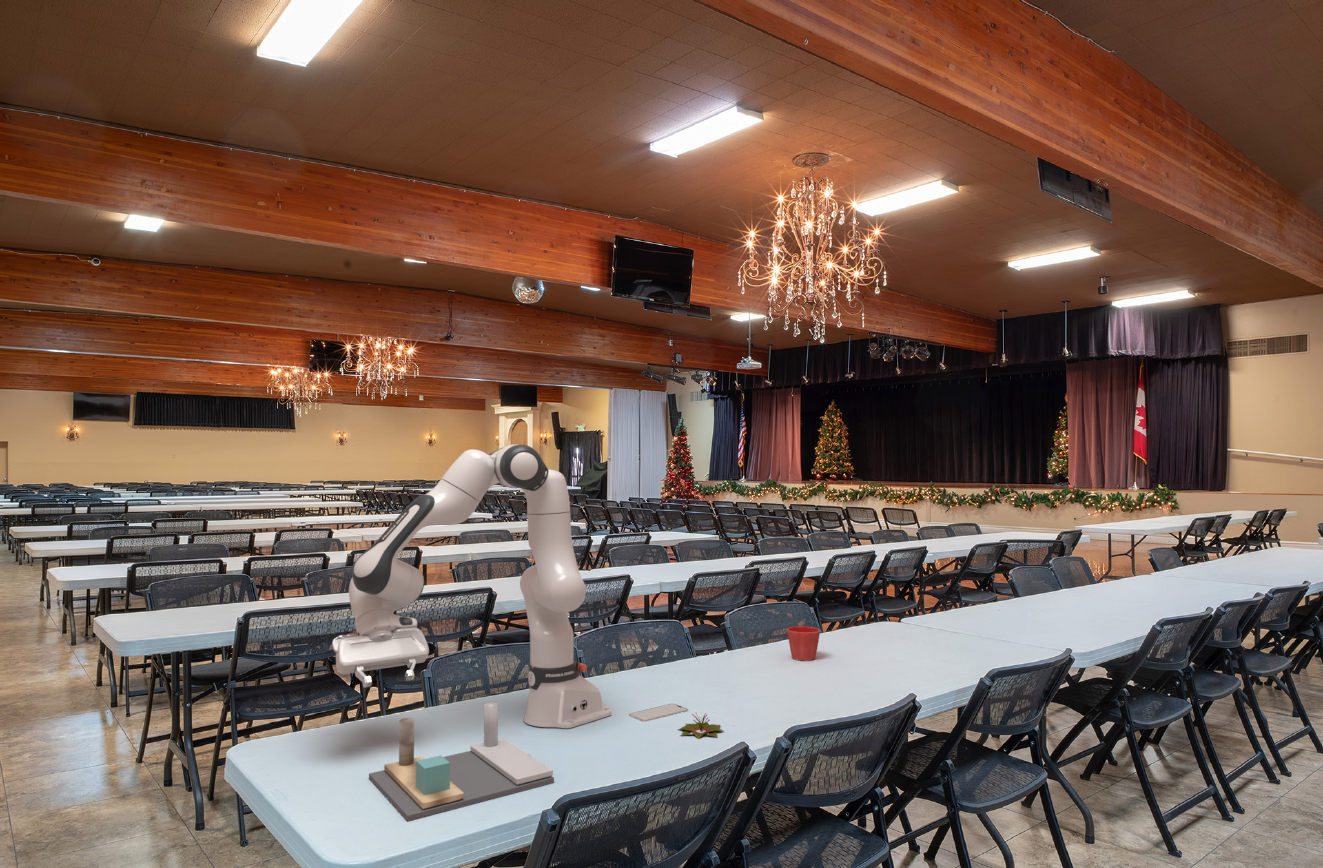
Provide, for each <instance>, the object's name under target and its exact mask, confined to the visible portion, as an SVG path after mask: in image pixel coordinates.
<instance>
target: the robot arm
mask: <svg viewBox="0 0 1323 868" xmlns="http://www.w3.org/2000/svg"><path fill="white" fill-rule="evenodd" d="M495 485H499V486H502V487H506V488H510V489H521V490H522V491H523V493H524V495H525V499H526V501H527V504H526V513H527V514H526V515H527V517H526V518H527V539H528V546H529V548H530V551H531V553H532V555H533V556H532V557H533V559H534V565H532V566H529V567H528V568H526V569H525V570H524V571H523V573H522V574H521V577H520V580H519V588H520V591H521V593H522V595H523V600H524V605H525V606H524V607H525V611H526V616H527V621H528V627H529V629H528V630H529V642H530V643H529V645H530V646H529V647H530V648H529V649H530V650H529V651H530V655H529V659H530V660H529V661H530V663H528V671H527V672H528V673H527V674H528V675H527V676H528V677H527V678H528V681H527V682H528V688H529V689H528V699H527V704H526V708H525V709H526V710H525V714H524V717H523V721H524V723H526V724H527V725H530V726H534V727H538V728H539V727H540V728H541V727H542V728H559V729H572V728H574V727H577V726H581V725H585V724H587V723H591V722H594V721H597V720H600V719H603V718H607V717H610V716H611V715H612V711H611V708H610V707H609V706H607V705H606V704H604V703H603V699H602V694H601V692H600V690H599V689H598V687H597V686H596V685H594V684H592V683H591V682H590V681H588V679H586V678H584V677H583V676H582V675H581V674H580V672H582V673H585V672H587V670H588V669H587V668H588V665H587V664H585V663H583V662H577V661H575V660H574V658H575V657H574V654H575V653H574V631H573V627H572V625H571V622H570V619H569V615H568V613H569V612H573V611H576V610H577V609H579V608H580V607H581V606H582V604H583V602H584V601H585V599H586V594H587V588H586V587H587V586H586V584H585V581H584V580H583V578H582V576H581V574H580V569H579V566H578V562H577V559H576V554H575V550H574V546H573V539H572V520H571V519H572V518H571V505H570V496H569V489H568V484H567V481H566V477H565V476H564V474H563V473H561V472H560V471H558V470H555V469H550V468H549V469H548V467H547V465H546V463H545V462H544V460H543V459H542V457H541V455H540V454H539V452H537V450H536V449H535V448H533V447H531V446H529V445H527V444H518V443H516V444H515V443H514V444H509V445H506V446H504V447H503V446H502V447H501V448H499V449H497V450H494V451H492V452H491V453H486V452H484V451H482V450H479V449H471V448H470V449H467V450H464V451H463V452H462V453H461V454H460V455H459V456H458V457H457V458H456V459H455V461H454V462H453V463H452V464H451V465H450V467H448V469H447V470H446V471H445V473H444V474H443V475H442V477H441V478H440V480H439V481H438V483H437V484H436V485H435V486H434V487H433V488H432V489H431V490H430V491H428V492H427V493H426V494H423V495H419V496H417V497H416V498H414V499H413V500H412V501H411V502H410V503H409V504H408V505H407V506H406V507H405V509H404V510H402V512H401V513H400V514H399V515H398V516H397V517H396V518H395V519H394V521H393V522H392V523H391V524H390V525H389V527H387V529H386V530H385V531H384V532H383V533H382V534H381V535H380V537H378V539H377V540H376V541H375V542H374V543H373V544H372V545H371V546H370V547H369V548H368V549H366V550H365V551H363V552H362V553H361V555H360V556H359V557H357V559H356V560H355V562H354V564H353V566H352V574H351V575H352V578H350V582H349V585H348V586H349V587H348V596H349V597H348V598H349V602H350V608H351V612H352V614H353V615H354V617H355V618H354V619H355V620H354V626H355V631H356V633H350V634H349V633H348V634H339V635H337V637H335V638H334V639H332V642H331V646H332V650H333V652H334V653H335V664H336V665H335V666H336V667H335V668H336V671H337V672H338V673H339V674H341V675H347V674H352V673H353V674H354V675H355V677H356V678H357V679H358V680H359V681H360V682H362V683H361V684H362V686H363V688H370V687H371V686H372V684H373V682H372V677H371V675H368V676H367V675H366V674H365V672H367V671H374V670H375V671H376V670H381V669H388V668H394V667H402V666H407V668H408V670H406V671H405V673H404V677H405V681H407V682H409V681H414V678H415V673H414V670H415V667H416V664H420V663H425V661H426V660H427V658H428V656H429V654H430V649H429V644H428V642H427V640H426V637H425V635H424V633H423V631H422V630H421V629H419V628H418V621H417V618H414V617H409V616H402V615H397V614H394V613H395V612H397V611H399V610H401V609H404V608H406V607H407V606H409V605H411V604H413V603H414V602H416V601H417V600H418V599H419V598H420V597H421V595H422V593H423V590H424V587H425V577H424V574H423V572H422V571H421V570H420V569H418V568H417V567H415V566H413V565H411V564H410V563H407V562H405V561H402V559H398V558H397V557H398V555H399V554H400V553H401V552H402V551H403V550H404V549H405V547H407V545H408V543H410V541H411V540H412V539H413V538H414V537H415V535H416V534H417V533H418V532H419V531H421V530H423V528H425V527H429V526H433V525H434V526H435V525H436V526H438V525H439V526H441V525H442V526H454V525H458V524H461V523H464V522H465V521H467V520H468V519H469V517H471V516H472V515H473V513H474V512H475V510H476V509H477V507H478V506H479V505H480V502H481V501H482V499H483V497H484V496H485V494H486V492H488V491H489V490H490V488H491V487H493V486H495Z"/></svg>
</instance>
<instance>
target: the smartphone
mask: <svg viewBox="0 0 1323 868" xmlns="http://www.w3.org/2000/svg"><path fill="white" fill-rule="evenodd" d="M681 712H683V713H686V712H689V709H688V708H686V707H683V706H681V705H678V704H676V703H669V704H668V703H667V704H664V705H660V706H655V707H651V708H648V709H643V710H640V711H636V712H631V713H628V716H629V717H631V718H634V719H635V720H638V721H640V722H649V721H654V720H658V719H662V718H665V717H669V716H670V717H671V716H675V715H678V713H679V714H682V713H681ZM674 714H675V715H674Z"/></svg>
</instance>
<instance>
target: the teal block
mask: <svg viewBox="0 0 1323 868" xmlns="http://www.w3.org/2000/svg"><path fill="white" fill-rule="evenodd" d="M444 757H445V756H442V755H436V756H431V757H427V758H424V759H422V760H417V761H416V788H417V789H419V790H420V791H421V792H422V793H423V794H424V795H428V794H432V793H436V792H440V791H444V790H448V789H450V762H448V761H447V760H446V759H445V758H444Z"/></svg>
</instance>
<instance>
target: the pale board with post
mask: <svg viewBox="0 0 1323 868" xmlns="http://www.w3.org/2000/svg"><path fill="white" fill-rule="evenodd" d="M483 708H484V709H483V718H484V719H483V742H482V743H481V742H480V743H476V744H472V745H470V751H472V752H473V753H475V754H476V755H478V756H479V757H480V758H482V759H483V760H484V761H486V762H487V763H488V764H490V765H491V766H492V767H494V768H495V769H496V770H498V771H499V772H500V773H502V774H503V775H504V776H506V777H507V778H509V779H510V780H511V781H513V782H514V783H515V784H517V785H518V784H522V783H526V782H529V781H533V780H537V779H541V778H545V777H549V776H552V777H553V776H554V774H553V773H554V772H553V771H554V770H553V769H551V768H550V767H548V766H546V765H545V764H543V763H542V762H540V761H539V760H537V759H536V758H535V757H533V756H531V755H530V754H529V753H526V752H525V751H524V750H522V749H521V748H519V747H517V746H516V745H514V744H513V743H511V742H510V741H509V740H507V739H505V738H500V739H498V737H499V735H498V734H499V731H498V730H499V729H498V726H499V723H498V722H499V721H498V719H499V717H498V716H499V714H498V713H499V712H498V710H499V705H498V702H496V701H489V702H485V703H484V704H483Z"/></svg>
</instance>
